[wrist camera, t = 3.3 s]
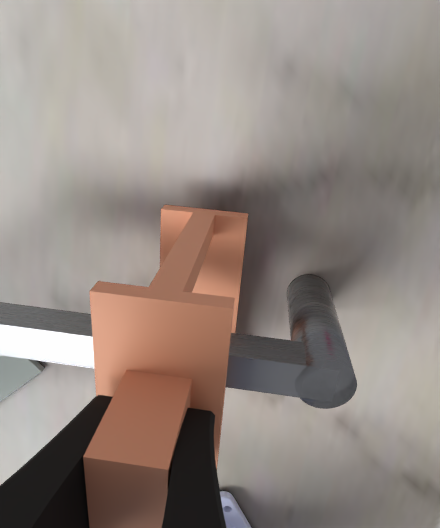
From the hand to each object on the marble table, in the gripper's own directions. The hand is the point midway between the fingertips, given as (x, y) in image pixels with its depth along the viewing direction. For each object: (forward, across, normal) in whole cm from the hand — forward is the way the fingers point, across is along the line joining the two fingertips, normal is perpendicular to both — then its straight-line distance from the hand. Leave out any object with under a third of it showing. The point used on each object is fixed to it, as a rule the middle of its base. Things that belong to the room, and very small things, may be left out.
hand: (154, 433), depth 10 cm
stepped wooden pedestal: (+8, 0, 0) cm, 8 cm away
